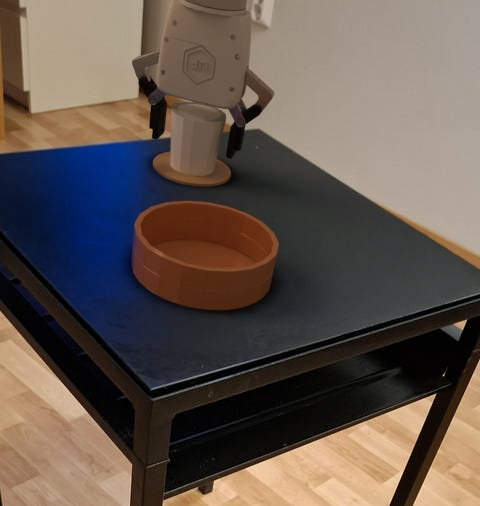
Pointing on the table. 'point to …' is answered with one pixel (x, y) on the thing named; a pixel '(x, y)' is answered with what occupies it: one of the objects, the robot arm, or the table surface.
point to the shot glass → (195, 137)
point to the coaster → (213, 179)
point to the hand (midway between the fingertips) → (194, 145)
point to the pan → (203, 255)
